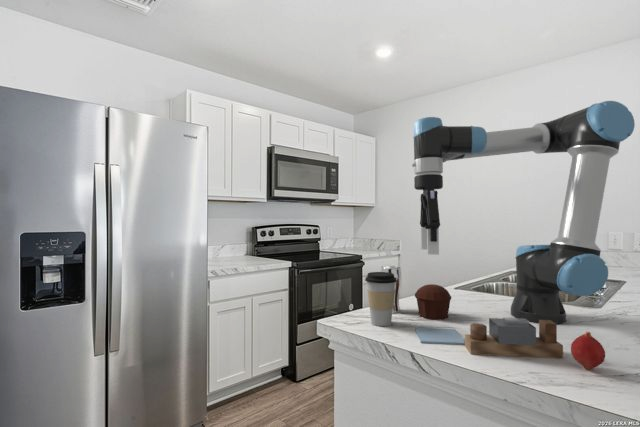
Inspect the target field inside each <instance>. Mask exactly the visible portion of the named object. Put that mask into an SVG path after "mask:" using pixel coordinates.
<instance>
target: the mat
mask: <svg viewBox="0 0 640 427" xmlns="http://www.w3.org/2000/svg"><path fill="white" fill-rule="evenodd" d="M414 330H415V332H416V334H417V337H418V339H419V342H420V344H434V345H435V344H436V345H458V346H460V345H461V346H462V345H463V346H465V339H463V337H462V336H461V335H460V333H459V332H458V331H457V329H456V328H435V327H414Z"/></svg>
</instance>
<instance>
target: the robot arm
mask: <svg viewBox="0 0 640 427" xmlns="http://www.w3.org/2000/svg"><path fill="white" fill-rule="evenodd" d="M634 130H635V119H634V116H633V113H632V112H631V111H630V110H629V108H628V107H627V106H626V105H625V104H623V103H621V102H619V101H616V100H605V101H601V102H597V103H593V104H591V105H590V106H588V107H585V108H582V109H579V110H577V111H574V112H572V113H569V114H567V115H563V116H561V117H558V118H556V119H554V120H550V121H547V122H537V123H536V124H534V125H533V126H532V127H523V128H515V129H504V130H503V129H502V130H497V131H496V130H494V131H486V129H485V128H483V127H482V126H473V125H470V126H461V125H460V126H459V125H458V126H456V125H455V126H451V125H450V126H447V125H443V121H442V119H441V118H440V117H437V116H427V117H422V118H420V119H417V120H416V121H415V122H414V124H413V136H412V138H413V155H414V156H413V158H414V159H413V160H414V161H413V162H414V163H412V164H411V167H413V168H414V175H415V176H414V181H413V182H414V189H415V190H417V191H422V193H421V194H420V198H419V200H420V217H419V218H420V221H419V224H420V227H421V228H420V240H421V241H420V246H421V248H420V249H421V250H426V251H427V255H435V256H437V255H440V240H439V237H440V235H439V234H440V233H439V230H440V229H439V228H440V226H441V222H440V211H439V201H438V190H441V189H443V187H444V179H443V178H444V177H443V172H444V170H443V169H444V165H443V164H444V163H446V162H449V161H456V160H463V159H472V158H473V159H474V158H481V157H492V156H499V155H500V156H501V155H509V154H518V153H519V154H520V153H528V152H529V153H530V152H533V153H535V154H538V155H539V154H552V153H554V154H555V153H568V154H569V155H570V156H571V158H572V159H571V163H570V167H569V168H570V169H569V174H568V179H567V186H566V191H565V195H564V196H565V197H564V202H563V207H562V211H561V212H562V214H561V219H560V223H559V224H560V225H559V231H558V235H557V238H555V239H553V240H551V241H550V243H549V244H530V245H519V246H518V247H517V248H516V252H515V260H516V261H515V264H516V265H515V268H516V269H515V274H516V283H515V284H516V291H515V295H514V297H513V299H512V303H511V305H510V315H511V316H512V317H513V318H523V319H527V320H528V321H529V322H532V323H538V324H539V320H551V321H552V322H554V323H556V324H563V323H566V321H567V312H566V310H565V306H564V304H563V301H562V300H561V299H562V298H561V297H560V292H562V293H564V294H566V295H571V296H578V297H587V296H591V295H594V294H595V293H597V292H599V291H600V290H602V289H603V287H605V284H607V281H608V278H609V267H608V266H607V265H606V262H605V260H604V259H603V258H602V257H601V248H600V247H599V246H598V245H597V244H596V240H597V239H596V238H597V233H598V227H599V223H600V222H599V221H600V216H601V211H602V205H603V199H604V196H605V195H604V193H605V191H606V190H605V188H606V183H607V177H608V172H609V166H610V161H611V159H612V158H614V156H616V155H617V154H618V153H619V150H620V144H621V142H623V141H625V140H626V139H628V138H629V137H630V136H632V134H633V132H634Z"/></svg>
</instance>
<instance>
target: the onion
mask: <svg viewBox="0 0 640 427" xmlns="http://www.w3.org/2000/svg"><path fill="white" fill-rule="evenodd" d="M570 352H571V356H572V357H573V359H574V360H575V361H576V362H577V363H578V364H579V365H580V366H582V367H583V368H584V370H588V371H591V370H593V369H595V368H596V367H599V366H600V365H602V364H603V363H604V361H605V358H606V351H605V348H604V347H603V345H602V344H601V342H599V340H598V339H596V338H595V337H593V335H592V334H591V332H590V331H586V332H585V333H583V334H581V335H579V336H578V337H576V338H575V339H574V340H573V341H572V343H571V344H570Z"/></svg>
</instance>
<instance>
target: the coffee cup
mask: <svg viewBox="0 0 640 427" xmlns="http://www.w3.org/2000/svg"><path fill="white" fill-rule="evenodd" d="M364 281H365V282H366V284H367V299H368V308H369V311H370V312H369V313H370V321H371V322H370V323H371V325H373V326H377V327H389V326H391V325H392V318H393V313H392V309H393V304H394V293H395V290H394V288H395V282H396V278H395V277H394V274H393V273H388V272H381V271H371V272H369V273H367V275H366V276H365V279H364Z"/></svg>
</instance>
